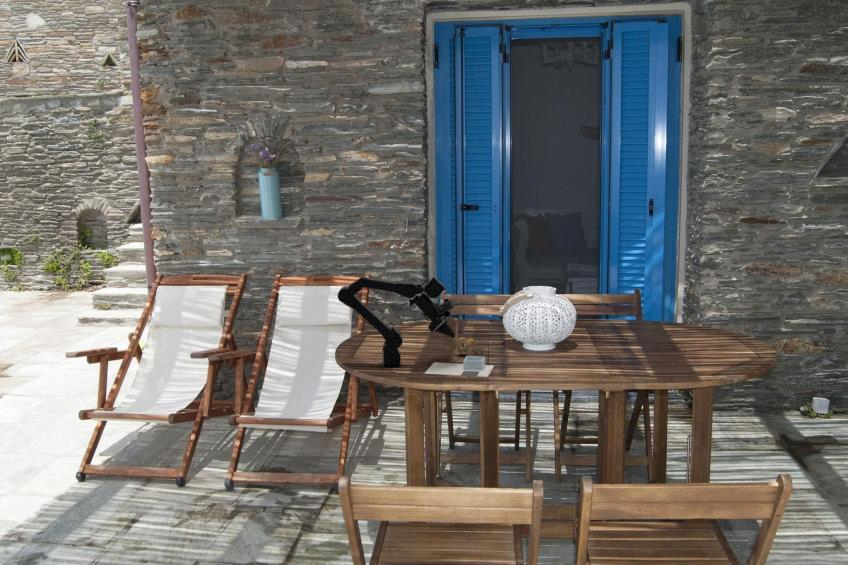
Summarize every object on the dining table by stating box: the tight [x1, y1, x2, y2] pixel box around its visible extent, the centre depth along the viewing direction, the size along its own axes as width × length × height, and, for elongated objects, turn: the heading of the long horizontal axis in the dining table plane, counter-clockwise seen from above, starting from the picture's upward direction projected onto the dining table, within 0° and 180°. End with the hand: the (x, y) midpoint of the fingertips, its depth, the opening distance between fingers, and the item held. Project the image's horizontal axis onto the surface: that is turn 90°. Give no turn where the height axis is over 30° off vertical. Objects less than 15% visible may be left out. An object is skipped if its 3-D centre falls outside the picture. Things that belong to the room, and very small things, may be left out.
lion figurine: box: [458, 337, 479, 357], centre depth 323 cm, size 15×5×9 cm, turn 153°
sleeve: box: [462, 355, 486, 371], centre depth 302 cm, size 7×7×4 cm
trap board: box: [424, 361, 495, 378], centre depth 300 cm, size 24×16×1 cm, turn 76°
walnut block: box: [445, 317, 459, 354], centre depth 305 cm, size 4×4×13 cm
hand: (455, 335), depth 305 cm, fingers closed on walnut block, 4 cm apart
